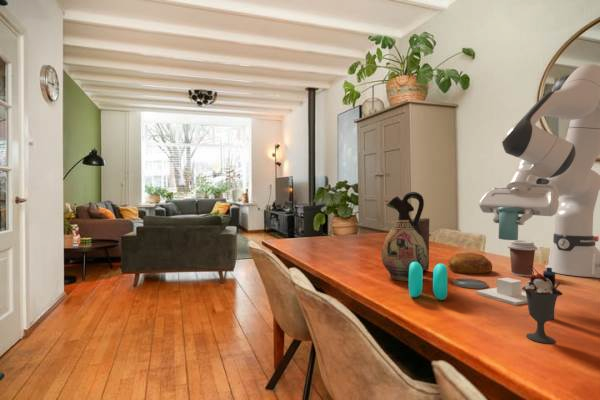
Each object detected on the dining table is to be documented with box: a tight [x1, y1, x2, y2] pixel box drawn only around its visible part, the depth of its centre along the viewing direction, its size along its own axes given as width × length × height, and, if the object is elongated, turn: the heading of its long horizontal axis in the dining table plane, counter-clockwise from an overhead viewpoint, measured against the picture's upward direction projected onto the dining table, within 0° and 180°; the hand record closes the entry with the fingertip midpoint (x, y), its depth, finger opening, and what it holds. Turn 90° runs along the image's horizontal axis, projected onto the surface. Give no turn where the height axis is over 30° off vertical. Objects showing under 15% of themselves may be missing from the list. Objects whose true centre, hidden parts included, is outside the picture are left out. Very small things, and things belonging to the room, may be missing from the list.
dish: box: [452, 277, 488, 290], centre depth 116 cm, size 10×10×1 cm
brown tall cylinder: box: [411, 217, 430, 272], centre depth 135 cm, size 8×7×20 cm
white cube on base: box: [475, 277, 528, 306], centre depth 102 cm, size 12×12×5 cm
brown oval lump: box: [448, 251, 493, 274], centre depth 137 cm, size 14×16×8 cm
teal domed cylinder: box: [498, 207, 520, 241], centre depth 102 cm, size 5×5×9 cm
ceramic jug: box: [381, 191, 428, 282], centre depth 123 cm, size 17×15×30 cm
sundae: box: [522, 265, 563, 345], centre depth 73 cm, size 7×7×15 cm
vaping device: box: [542, 268, 556, 320], centre depth 86 cm, size 3×5×12 cm, turn 27°
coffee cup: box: [507, 239, 538, 278], centre depth 129 cm, size 9×9×12 cm
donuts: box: [408, 262, 448, 301], centre depth 101 cm, size 10×10×10 cm
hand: (507, 222), depth 102 cm, fingers closed on teal domed cylinder, 5 cm apart
